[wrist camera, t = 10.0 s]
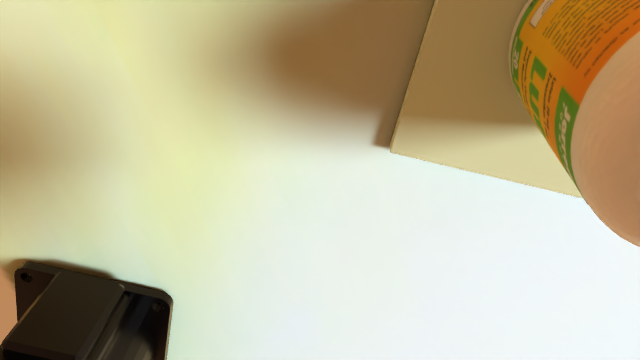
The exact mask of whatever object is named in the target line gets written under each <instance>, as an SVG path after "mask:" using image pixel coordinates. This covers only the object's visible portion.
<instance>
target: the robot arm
mask: <svg viewBox="0 0 640 360" xmlns="http://www.w3.org/2000/svg"><path fill="white" fill-rule="evenodd" d="M27 273H28V274H27ZM29 274H30V275H31V276H30V275H29ZM15 290H16V305H17V320H18V323H17V324H16V325H15V326H14V328H13V329H12V330H11V331H10V333H9V334H8V335H7V336H6V338H5V339H4V340H3V342H2V344H1V345H0V360H167V352H168V344H169V335H170V327H171V318H172V310H173V299H172V298H171V296H169V295H168V294H167V293H164V292H161V291H157V290H152V289H148V288H143V287H139V286H135V285H130V284H126V283H121V282H117V281H112V280H108V279H104V278H99V277H95V276H90V275H86V274H82V273H77V272H73V271H68V270H64V269H60V268H55V267H51V266H46V265H42V264H37V263H33V262H25V263H23V264H22V265H21V266H20V267H19V268H18V269H17V270H16V271H15ZM158 303H161V304H162V305H159V304H158Z"/></svg>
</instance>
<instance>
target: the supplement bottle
mask: <svg viewBox="0 0 640 360" xmlns="http://www.w3.org/2000/svg"><path fill="white" fill-rule="evenodd" d="M508 59H509V71H510V76H511V80H512V83H513V86H514V88H515V90H516V93H517V95H518V97H519V98H520V100H521V102H522V104H523V105H524V107H525V108H526V110H527V111H528V113H529V114H530V116H531V118H532V119H533V121H534V122H535V124H536V125H537V127H538V128H539V130H540V132H541V133H542V135H543V136H544V138H545V139H546V141H547V143H548V144H549V146H550V148H551V149H552V151H553V152H554V153H555V155H556V156H557V158H558V160H559V161H560V163H561V164H562V166H563V167H564V169H565V170H566V172H567V173H568V175H569V176H570V178H571V179H572V181H573V182H574V184H575V186H576V187H577V189H578V190H579V192H580V194H581V195H582V197H583V198H584V200H585V201H586V203H587V204H588V205H589V206H590V207H591V209H592V210H593V211H594V213H595V214H596V215H597V216H598V217H599V218H600V220H601V221H602V222H603V223H604V224H605V225H606V226H607V227H609V228H610V229H611V230H612V231H613V232H615V233H616V234H617V235H619V236H620V237H622V238H623V239H625V240H627V241H629V242H630V243H632V244H634V245H637V246H639V247H640V0H528V2H527V3H526V4H525V6H524V7H523V9H522V11H521V13H520V14H519V16H518V18H517V21H516V23H515V26H514V28H513V32H512V35H511V39H510V44H509V54H508Z"/></svg>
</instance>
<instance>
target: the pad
mask: <svg viewBox="0 0 640 360" xmlns="http://www.w3.org/2000/svg"><path fill="white" fill-rule="evenodd" d="M527 2H528V0H435V2H434V5H433V9H432V12H431V15H430V18H429V21H428V24H427V28H426V31H425V34H424V37H423V40H422V44H421V47H420V50H419V53H418V56H417V60H416V63H415V66H414V69H413V72H412V75H411V79H410V82H409V85H408V88H407V91H406V95H405V98H404V101H403V104H402V107H401V111H400V114H399V117H398V120H397V123H396V126H395V130H394V133H393V136H392V139H391V142H390V152H391V153H395V154H399V155H404V156H408V157H412V158H416V159H420V160H425V161H429V162H433V163H437V164H441V165H446V166H450V167H454V168H458V169H462V170H467V171H471V172H475V173H479V174H483V175H488V176H492V177H496V178H500V179H504V180H509V181H513V182H517V183H521V184H526V185H530V186H534V187H538V188H542V189H547V190H551V191H555V192H559V193H563V194H568V195H572V196H576V197H580V198H583V197H582V195H581V194H580V192H579V190H578V189H577V187H576V186H575V184H574V182H573V181H572V179H571V178H570V176H569V175H568V173H567V172H566V170H565V169H564V167H563V166H562V164H561V163H560V161H559V160H558V158H557V156H556V155H555V153H554V152H553V151H552V149H551V148H550V146H549V144H548V143H547V141H546V139H545V138H544V136H543V135H542V133H541V132H540V130H539V128H538V127H537V125H536V124H535V122H534V121H533V119H532V118H531V116H530V114H529V113H528V111H527V110H526V108H525V107H524V105H523V104H522V102H521V100H520V98H519V97H518V95H517V93H516V90H515V88H514V86H513V83H512V80H511V76H510V71H509V59H508V54H509V44H510V39H511V35H512V32H513V28H514V26H515V23H516V21H517V18H518V16H519V14H520V13H521V11H522V9H523V7H524V6H525V4H526V3H527Z"/></svg>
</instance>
